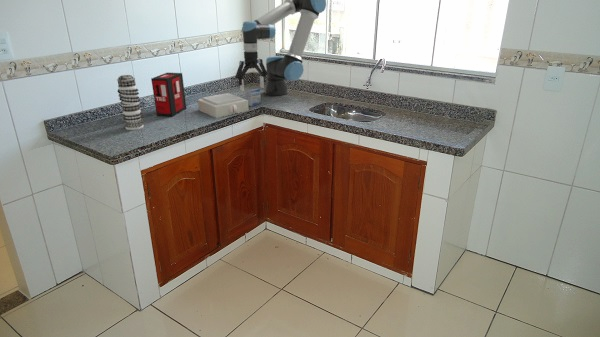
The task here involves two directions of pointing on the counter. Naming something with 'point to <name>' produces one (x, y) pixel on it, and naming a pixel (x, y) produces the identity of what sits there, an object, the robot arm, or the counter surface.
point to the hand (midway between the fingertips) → (252, 89)
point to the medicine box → (253, 97)
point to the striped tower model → (130, 102)
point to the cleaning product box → (169, 94)
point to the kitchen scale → (222, 105)
